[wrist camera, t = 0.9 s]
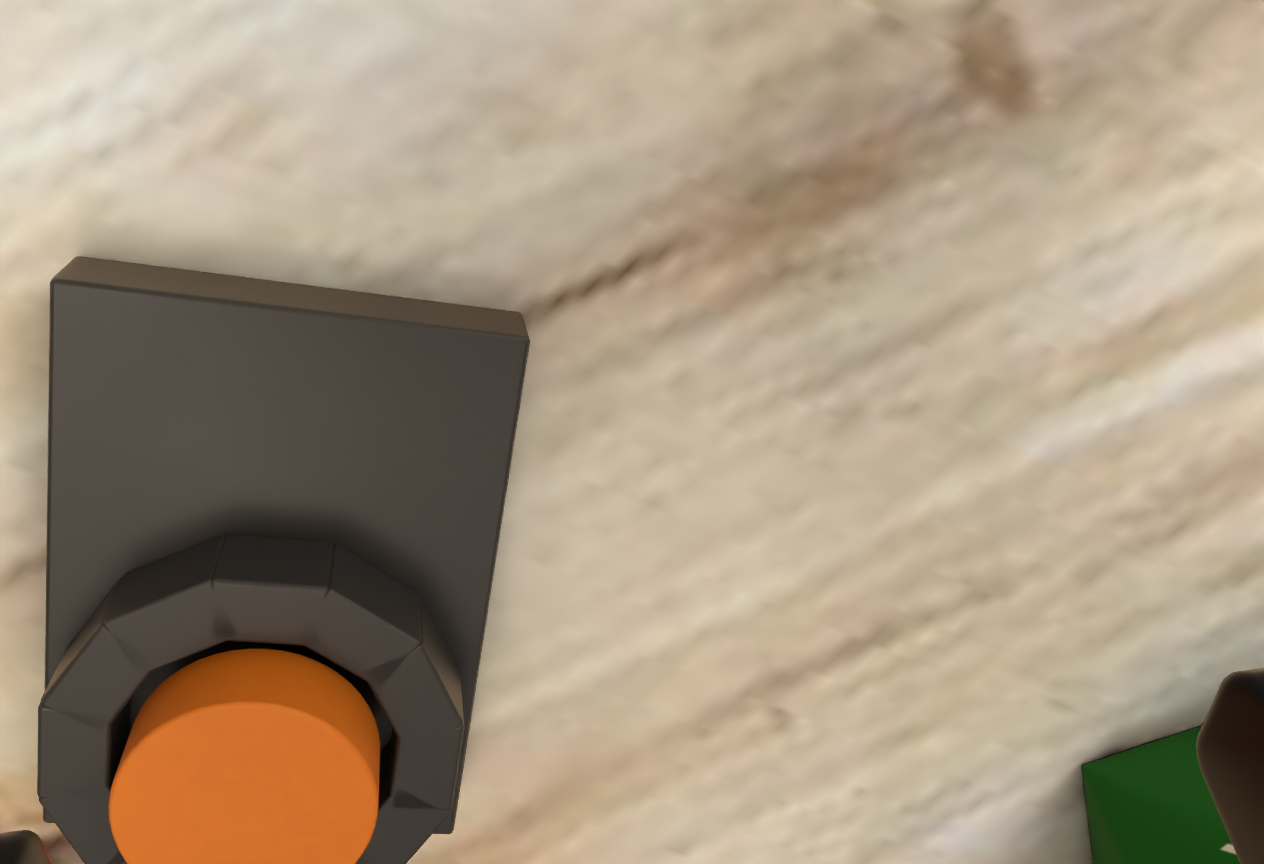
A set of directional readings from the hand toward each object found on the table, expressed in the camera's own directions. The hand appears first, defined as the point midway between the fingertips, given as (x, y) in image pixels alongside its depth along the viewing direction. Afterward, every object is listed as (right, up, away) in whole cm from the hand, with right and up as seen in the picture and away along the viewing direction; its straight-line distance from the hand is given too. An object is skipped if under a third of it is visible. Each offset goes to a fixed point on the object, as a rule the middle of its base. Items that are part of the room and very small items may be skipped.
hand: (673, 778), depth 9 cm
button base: (-7, 0, +15) cm, 17 cm away
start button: (-7, -3, +13) cm, 15 cm away
